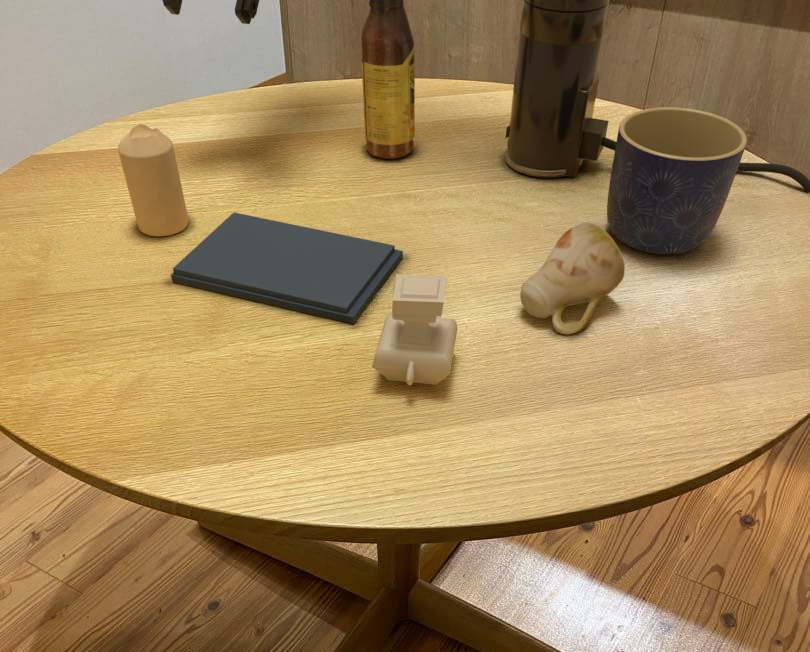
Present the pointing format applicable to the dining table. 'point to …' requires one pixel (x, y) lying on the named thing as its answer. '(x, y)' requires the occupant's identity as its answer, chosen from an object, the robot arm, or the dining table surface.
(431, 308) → the beige blocky piece
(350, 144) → the dining table surface
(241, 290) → the dark grey rectangular slab
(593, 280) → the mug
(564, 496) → the dining table surface
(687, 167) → the planter
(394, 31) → the sauce bottle
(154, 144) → the candle
